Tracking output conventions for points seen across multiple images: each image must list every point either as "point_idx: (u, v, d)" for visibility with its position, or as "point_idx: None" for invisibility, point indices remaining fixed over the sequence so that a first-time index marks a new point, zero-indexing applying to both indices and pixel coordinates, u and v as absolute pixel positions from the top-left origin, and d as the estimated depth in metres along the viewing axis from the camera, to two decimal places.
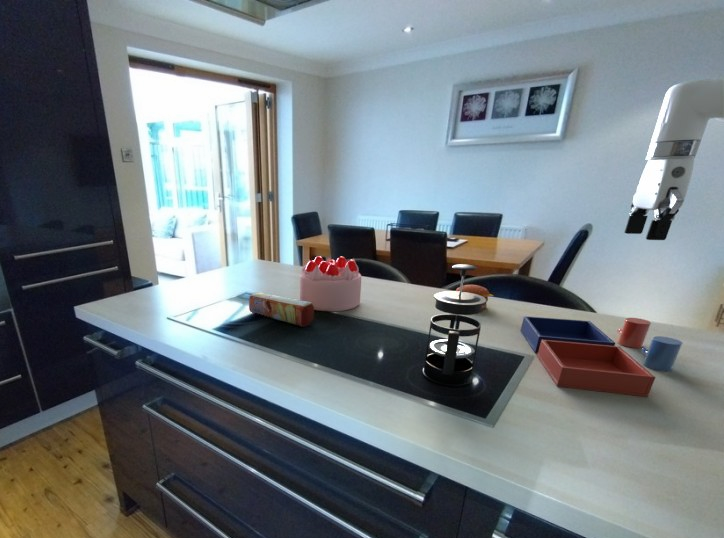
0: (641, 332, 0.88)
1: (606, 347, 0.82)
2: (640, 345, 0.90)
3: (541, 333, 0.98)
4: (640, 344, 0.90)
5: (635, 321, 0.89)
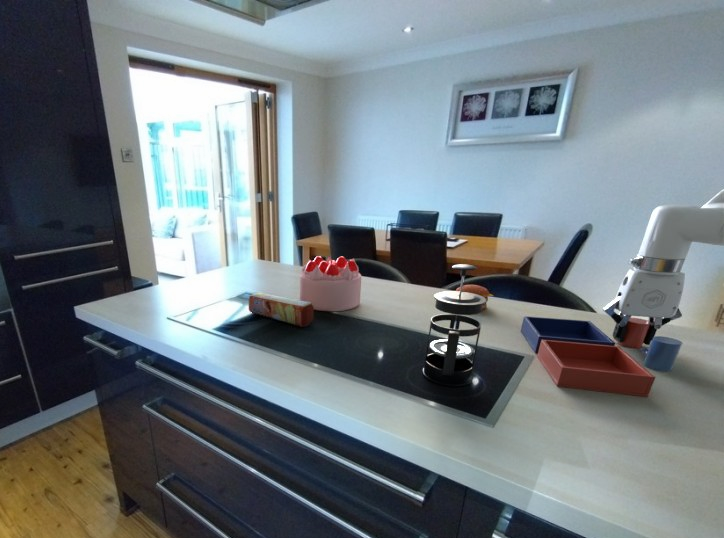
0: (641, 332, 0.89)
1: (606, 347, 0.82)
2: (640, 345, 0.90)
3: (541, 333, 0.98)
4: (640, 344, 0.90)
5: (635, 321, 0.89)
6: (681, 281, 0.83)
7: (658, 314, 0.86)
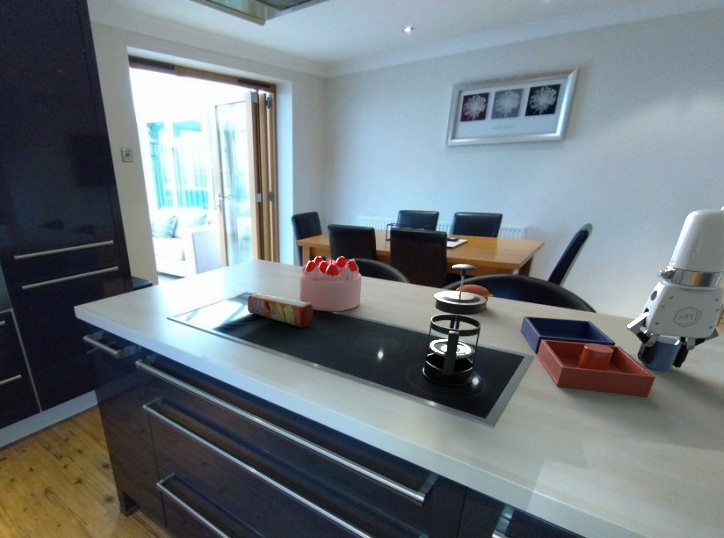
0: (601, 361, 0.74)
1: None
2: None
3: (541, 333, 0.98)
4: None
5: (594, 349, 0.75)
6: (719, 297, 0.72)
7: (692, 334, 0.75)
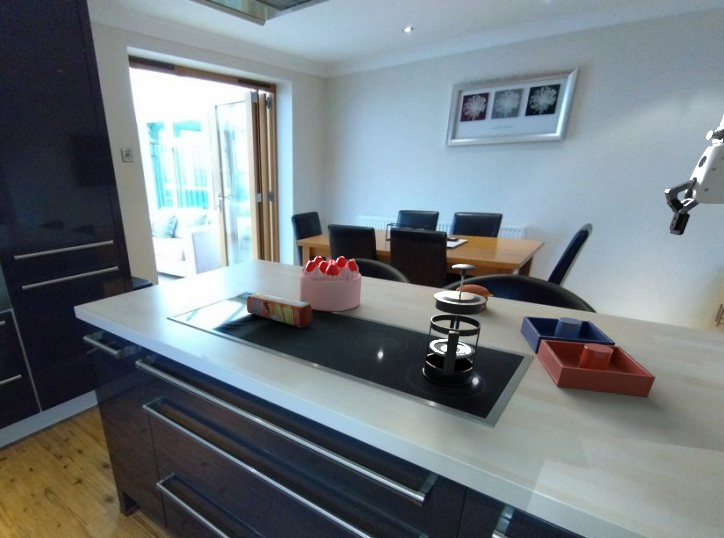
0: (601, 361, 0.74)
1: None
2: None
3: (541, 333, 0.98)
4: None
5: (594, 349, 0.75)
6: None
7: None
